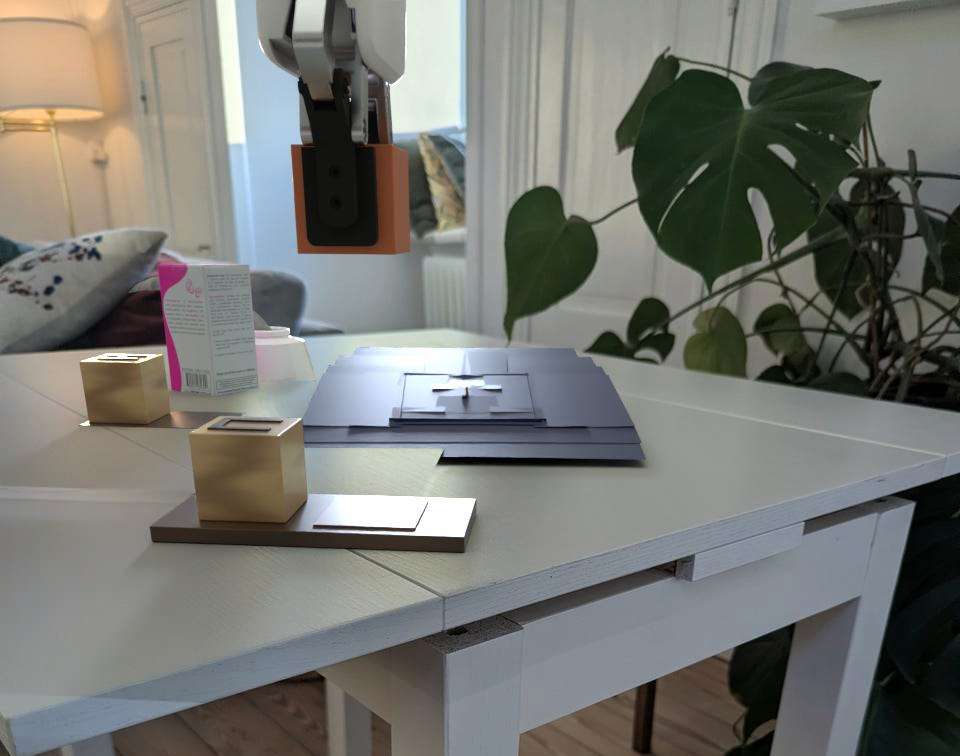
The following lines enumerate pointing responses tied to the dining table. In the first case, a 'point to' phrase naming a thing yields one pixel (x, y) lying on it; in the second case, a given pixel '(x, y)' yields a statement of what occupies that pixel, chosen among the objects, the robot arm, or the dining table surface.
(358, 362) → the grey stepped plate
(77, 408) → the dining table surface
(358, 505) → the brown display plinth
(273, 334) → the white piece
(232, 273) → the supplement box
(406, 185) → the orange embossed-top cube
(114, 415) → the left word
